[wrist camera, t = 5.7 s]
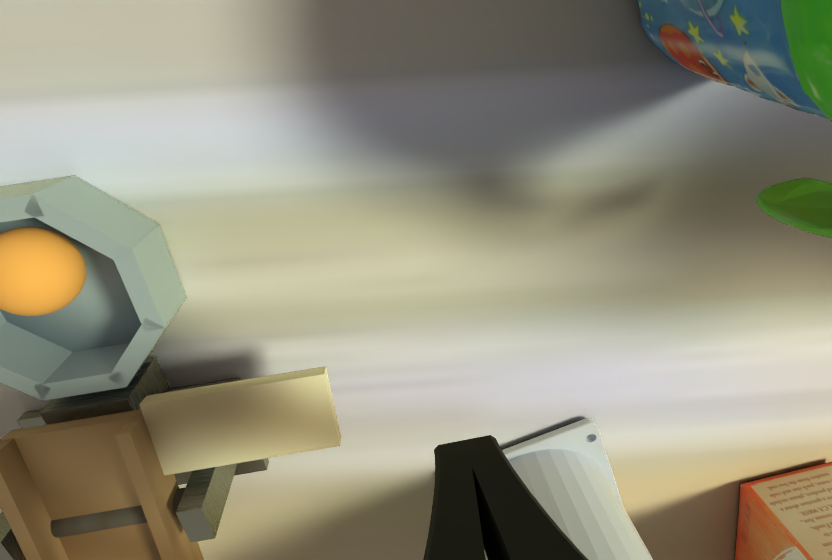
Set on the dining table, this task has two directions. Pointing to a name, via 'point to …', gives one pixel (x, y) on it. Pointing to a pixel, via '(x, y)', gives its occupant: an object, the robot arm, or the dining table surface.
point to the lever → (150, 464)
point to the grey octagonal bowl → (89, 293)
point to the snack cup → (759, 71)
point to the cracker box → (787, 516)
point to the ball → (38, 271)
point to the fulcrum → (204, 486)
